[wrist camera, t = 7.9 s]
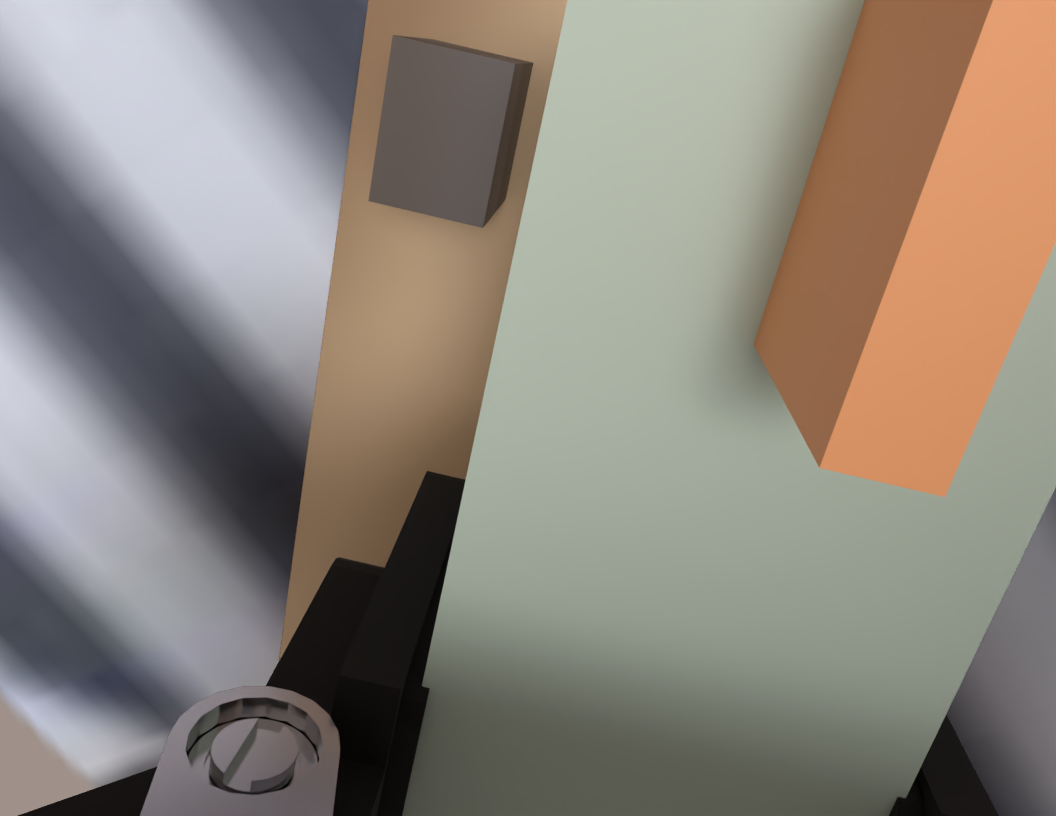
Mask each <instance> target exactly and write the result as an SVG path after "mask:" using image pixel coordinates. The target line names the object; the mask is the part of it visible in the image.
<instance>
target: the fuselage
mask: <svg viewBox="0 0 1056 816" xmlns="http://www.w3.org/2000/svg"><path fill="white" fill-rule="evenodd" d="M1055 488H1056V0H568V1H567V5H566V10H565V15H564V19H563V24H562V29H561V33H560V38H559V43H558V48H557V52H556V57H555V62H554V66H553V71H552V76H551V81H550V85H549V90H548V95H547V99H546V104H545V109H544V113H543V118H542V123H541V128H540V132H539V137H538V142H537V146H536V151H535V156H534V160H533V165H532V170H531V175H530V179H529V184H528V189H527V193H526V198H525V203H524V208H523V212H522V217H521V222H520V226H519V231H518V236H517V240H516V245H515V250H514V255H513V259H512V264H511V269H510V273H509V278H508V283H507V288H506V292H505V297H504V302H503V306H502V311H501V316H500V320H499V325H498V330H497V335H496V339H495V344H494V349H493V353H492V358H491V363H490V368H489V372H488V377H487V382H486V386H485V391H484V396H483V400H482V405H481V410H480V415H479V419H478V424H477V429H476V433H475V438H474V443H473V448H472V452H471V457H470V462H469V466H468V471H467V476H466V480H465V485H464V490H463V495H462V499H461V504H460V509H459V513H458V518H457V523H456V528H455V532H454V537H453V542H452V546H451V551H450V556H449V560H448V565H447V570H446V575H445V579H444V584H443V589H442V593H441V598H440V603H439V608H438V612H437V617H436V622H435V626H434V631H433V636H432V640H431V645H430V650H429V655H428V659H427V664H426V669H425V673H424V678H423V683H422V686H423V687H427V688H430V690H429V694H428V699H427V704H426V708H425V713H424V717H423V722H422V727H421V731H420V736H419V740H418V745H417V750H416V754H415V759H414V764H413V768H412V773H411V777H410V782H409V787H408V791H407V796H406V800H405V805H404V810H403V814H402V816H889V814H890V812H891V810H892V808H893V806H894V804H895V802H896V799H897V797H902V798H906V797H907V795H908V792H909V790H910V788H911V786H912V784H913V782H914V780H915V778H916V776H917V774H918V772H919V770H920V768H921V766H922V763H923V761H924V759H925V757H926V755H927V753H928V751H929V749H930V747H931V745H932V743H933V741H934V739H935V737H936V734H937V732H938V730H939V728H940V726H941V724H942V722H943V720H944V718H945V716H946V714H947V712H948V710H949V707H950V705H951V703H952V701H953V699H954V697H955V695H956V693H957V691H958V689H959V687H960V685H961V683H962V681H963V678H964V676H965V674H966V672H967V670H968V668H969V666H970V664H971V662H972V660H973V658H974V656H975V654H976V651H977V649H978V647H979V645H980V643H981V641H982V639H983V637H984V635H985V633H986V631H987V629H988V627H989V625H990V622H991V620H992V618H993V616H994V614H995V612H996V610H997V608H998V606H999V604H1000V602H1001V600H1002V598H1003V596H1004V593H1005V591H1006V589H1007V587H1008V585H1009V583H1010V581H1011V579H1012V577H1013V575H1014V573H1015V571H1016V569H1017V566H1018V564H1019V562H1020V560H1021V558H1022V556H1023V554H1024V552H1025V550H1026V548H1027V546H1028V544H1029V542H1030V540H1031V537H1032V535H1033V533H1034V531H1035V529H1036V527H1037V525H1038V523H1039V521H1040V519H1041V517H1042V515H1043V513H1044V511H1045V508H1046V506H1047V504H1048V502H1049V500H1050V498H1051V496H1052V494H1053V492H1054V490H1055Z"/></svg>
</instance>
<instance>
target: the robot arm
mask: <svg viewBox="0 0 1056 816" xmlns="http://www.w3.org/2000/svg"><path fill="white" fill-rule="evenodd" d="M464 485H465V479H460V478H456V477H452V476H447V475H443V474H439V473H434V472H430V471H427V472H426V474H425V476H424V478H423V481H422V483H421V485H420V488H419V490H418V492H417V494H416V497H415V499H414V501H413V504H412V506H411V508H410V511H409V513H408V515H407V517H406V520H405V522H404V524H403V527H402V529H401V531H400V533H399V536H398V538H397V540H396V543H395V545H394V547H393V550H392V552H391V554H390V556H389V559H388V561H387V563H386V566H385V568H384V567H380V566H375V565H371V564H367V563H363V562H358V561H354V560H350V559H345V558H341V557H338V558H336V559H335V560H334V562H333V563H332V565H331V567H330V569H329V570H328V572H327V574H326V576H325V578H324V580H323V581H322V583H321V585H320V587H319V589H318V591H317V593H316V594H315V596H314V598H313V600H312V602H311V604H310V605H309V607H308V609H307V611H306V613H305V615H304V616H303V618H302V620H301V622H300V624H299V626H298V628H297V629H296V631H295V633H294V635H293V637H292V639H291V640H290V642H289V644H288V646H287V648H286V650H285V651H284V653H283V655H282V657H281V659H280V661H279V663H278V664H277V666H276V668H275V670H274V672H273V674H272V675H271V677H270V679H269V681H268V683H267V685H266V686H243V687H239V688H234V689H229V690H225V691H220V692H218V693H215V694H213V695H211V696H209V697H207V698H205V699H203V700H201V701H198V702H197V703H195V704H194V705H193V706H192V707H191V708H190V709H188V710H187V711H186V712H185V713H184V714H182V715H181V716H180V717H179V719H178V720H177V722H176V724H175V725H174V727H173V729H172V730H171V732H170V734H169V736H168V738H167V741H166V744H165V747H164V750H163V752H162V755H161V758H160V761H159V764H158V766H157V767H155V768H152V769H150V770H147V771H144V772H141V773H138V774H135V775H132V776H130V777H127V778H124V779H121V780H118V781H115V782H113V783H110V784H107V785H104V786H101V787H98V788H95V789H93V790H90V791H87V792H84V793H81V794H78V795H76V796H73V797H70V798H67V799H64V800H61V801H58V802H55V803H53V804H50V805H47V806H44V807H41V808H38V809H35V810H33V811H30V812H27V813H24V814H21V815H18V816H402V814H403V810H404V805H405V800H406V796H407V791H408V787H409V782H410V777H411V773H412V768H413V764H414V759H415V754H416V750H417V745H418V740H419V736H420V731H421V727H422V722H423V717H424V713H425V708H426V704H427V699H428V694H429V690H430V688H427V687H423V686H422V683H423V678H424V673H425V669H426V664H427V659H428V655H429V650H430V645H431V640H432V636H433V631H434V626H435V622H436V617H437V612H438V608H439V603H440V598H441V593H442V589H443V584H444V579H445V575H446V570H447V565H448V560H449V556H450V551H451V546H452V542H453V537H454V532H455V528H456V523H457V518H458V513H459V509H460V504H461V499H462V495H463V490H464ZM889 816H998V814H997V812H996V810H995V808H994V806H993V805H992V803H991V801H990V799H989V797H988V795H987V793H986V791H985V789H984V787H983V785H982V783H981V781H980V779H979V777H978V775H977V773H976V771H975V770H974V768H973V766H972V764H971V762H970V760H969V758H968V756H967V754H966V752H965V750H964V748H963V746H962V744H961V742H960V740H959V738H958V736H957V735H956V733H955V731H954V729H953V727H952V725H951V723H950V721H949V719H948V717H947V715H946V716H945V718H944V720H943V722H942V724H941V726H940V728H939V730H938V732H937V734H936V737H935V739H934V741H933V743H932V745H931V747H930V749H929V751H928V753H927V755H926V757H925V759H924V761H923V763H922V766H921V768H920V770H919V772H918V774H917V776H916V778H915V780H914V782H913V784H912V786H911V788H910V790H909V792H908V795H907V797H906V798H902V797H897V799H896V802H895V804H894V806H893V808H892V810H891V812H890V814H889Z"/></svg>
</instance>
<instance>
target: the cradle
mask: <svg viewBox="0 0 1056 816" xmlns="http://www.w3.org/2000/svg"><path fill="white" fill-rule="evenodd" d="M567 1H568V0H369V2H368V9H367V16H366V24H365V31H364V38H363V46H362V53H361V61H360V68H359V75H358V83H357V90H356V97H355V105H354V112H353V119H352V127H351V134H350V141H349V149H348V156H347V163H346V171H345V178H344V186H343V193H342V200H341V208H340V215H339V222H338V230H337V237H336V244H335V252H334V259H333V266H332V274H331V281H330V288H329V296H328V303H327V311H326V318H325V325H324V333H323V340H322V347H321V355H320V362H319V369H318V377H317V384H316V391H315V399H314V406H313V413H312V421H311V428H310V436H309V443H308V450H307V458H306V465H305V472H304V480H303V487H302V494H301V502H300V509H299V516H298V524H297V531H296V538H295V546H294V553H293V561H292V568H291V575H290V583H289V590H288V597H287V605H286V612H285V619H284V627H283V634H282V641H281V649H280V656H279V661H280V659H281V657H282V655H283V653H284V651H285V650H286V648H287V646H288V644H289V642H290V640H291V639H292V637H293V635H294V633H295V631H296V629H297V628H298V626H299V624H300V622H301V620H302V618H303V616H304V615H305V613H306V611H307V609H308V607H309V605H310V604H311V602H312V600H313V598H314V596H315V594H316V593H317V591H318V589H319V587H320V585H321V583H322V581H323V580H324V578H325V576H326V574H327V572H328V570H329V569H330V567H331V565H332V563H333V562H334V560H335V559H336V558H338V557H341V558H345V559H350V560H354V561H358V562H363V563H367V564H371V565H375V566H380V567H384V568H385V566H386V563H387V561H388V559H389V556H390V554H391V552H392V550H393V547H394V545H395V543H396V540H397V538H398V536H399V533H400V531H401V529H402V527H403V524H404V522H405V520H406V517H407V515H408V513H409V511H410V508H411V506H412V504H413V501H414V499H415V497H416V494H417V492H418V490H419V488H420V485H421V483H422V481H423V478H424V476H425V474H426V472H427V471H430V472H434V473H439V474H443V475H447V476H452V477H456V478H460V479H465V480H466V476H467V471H468V466H469V462H470V457H471V452H472V448H473V443H474V438H475V433H476V429H477V424H478V419H479V415H480V410H481V405H482V400H483V396H484V391H485V386H486V382H487V377H488V372H489V368H490V363H491V358H492V353H493V349H494V344H495V339H496V335H497V330H498V325H499V320H500V316H501V311H502V306H503V302H504V297H505V292H506V288H507V283H508V278H509V273H510V269H511V264H512V259H513V255H514V250H515V245H516V240H517V236H518V231H519V226H520V222H521V217H522V212H523V208H524V203H525V198H526V193H527V189H528V184H529V179H530V175H531V170H532V165H533V160H534V156H535V151H536V146H537V142H538V137H539V132H540V128H541V123H542V118H543V113H544V109H545V104H546V99H547V95H548V90H549V85H550V81H551V76H552V71H553V66H554V62H555V57H556V52H557V48H558V43H559V38H560V33H561V29H562V24H563V19H564V15H565V10H566V5H567Z"/></svg>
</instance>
